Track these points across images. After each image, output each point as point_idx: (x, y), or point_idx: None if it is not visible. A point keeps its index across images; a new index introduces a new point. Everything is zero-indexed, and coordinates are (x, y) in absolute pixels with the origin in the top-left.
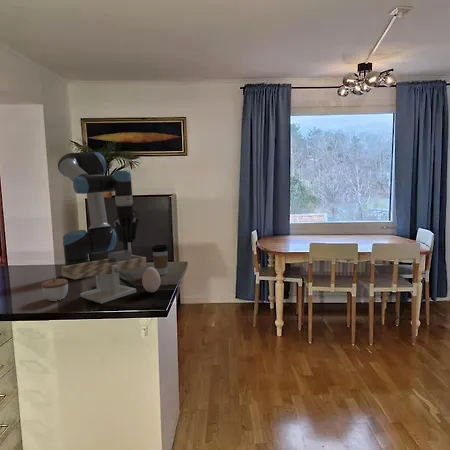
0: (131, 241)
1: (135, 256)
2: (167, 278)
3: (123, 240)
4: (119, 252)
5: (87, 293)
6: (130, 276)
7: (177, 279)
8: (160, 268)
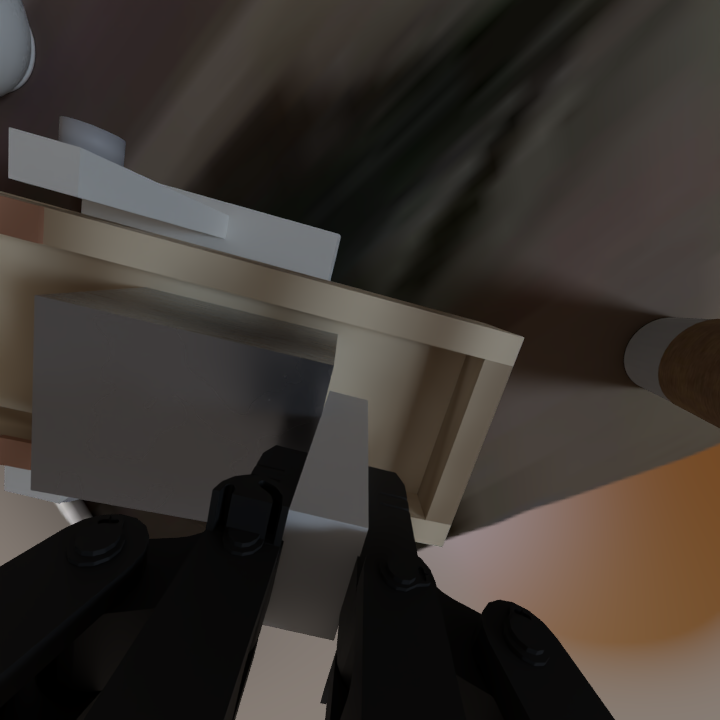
0: (328, 682)
1: (463, 413)
2: (565, 442)
3: (74, 688)
4: (171, 429)
5: (107, 213)
6: (572, 176)
7: (555, 501)
8: (660, 386)
